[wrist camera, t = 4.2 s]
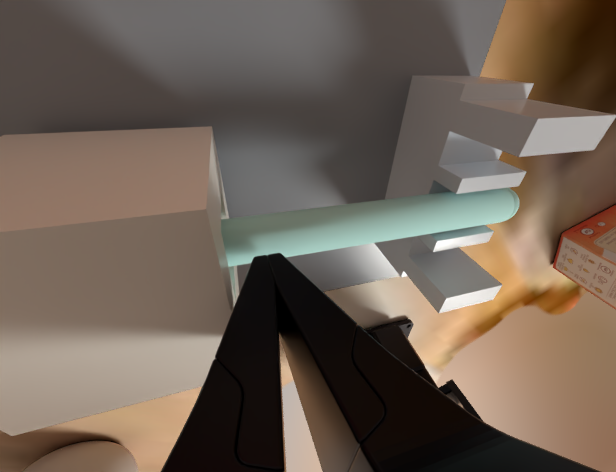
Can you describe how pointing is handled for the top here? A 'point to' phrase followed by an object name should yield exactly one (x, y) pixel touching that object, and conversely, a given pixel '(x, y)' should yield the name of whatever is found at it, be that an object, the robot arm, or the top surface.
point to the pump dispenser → (87, 459)
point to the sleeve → (108, 270)
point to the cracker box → (591, 255)
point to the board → (301, 109)
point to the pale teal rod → (362, 223)
